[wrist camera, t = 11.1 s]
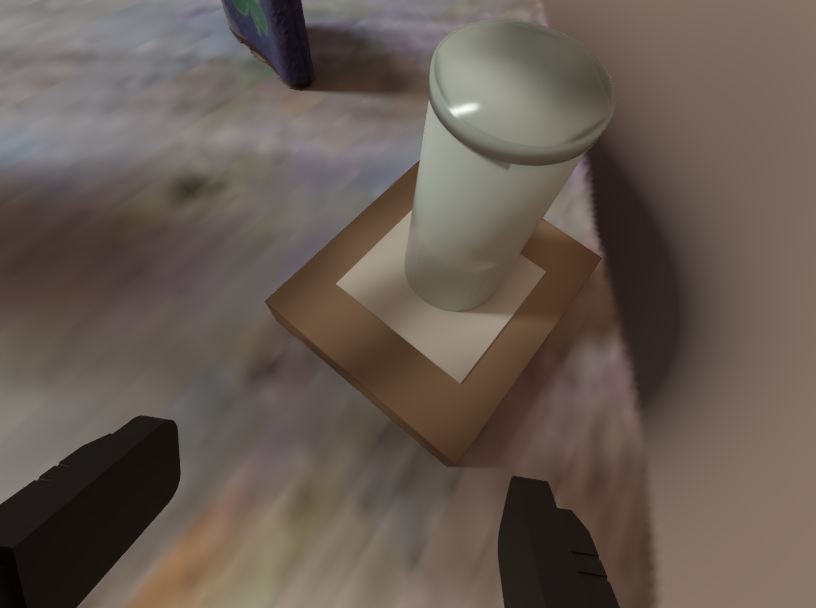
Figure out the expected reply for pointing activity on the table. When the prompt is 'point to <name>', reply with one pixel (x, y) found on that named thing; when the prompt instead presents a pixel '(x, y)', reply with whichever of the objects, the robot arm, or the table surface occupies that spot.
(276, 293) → the pedestal
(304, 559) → the table surface
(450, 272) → the canister
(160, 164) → the table surface
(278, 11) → the flask
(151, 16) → the table surface
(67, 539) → the robot arm
